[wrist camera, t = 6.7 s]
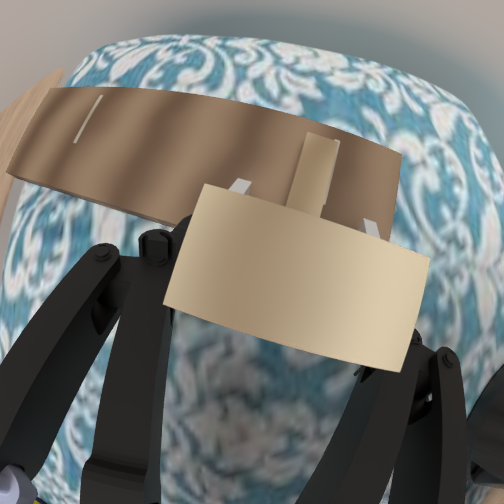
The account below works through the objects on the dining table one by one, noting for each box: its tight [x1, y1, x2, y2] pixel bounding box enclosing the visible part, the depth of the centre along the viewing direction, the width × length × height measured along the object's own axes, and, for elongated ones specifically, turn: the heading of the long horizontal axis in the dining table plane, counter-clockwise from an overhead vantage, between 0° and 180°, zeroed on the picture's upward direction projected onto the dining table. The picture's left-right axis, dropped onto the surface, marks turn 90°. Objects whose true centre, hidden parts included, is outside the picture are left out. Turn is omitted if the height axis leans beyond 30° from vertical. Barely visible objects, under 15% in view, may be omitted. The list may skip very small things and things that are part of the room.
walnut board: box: [6, 87, 402, 242], centre depth 19 cm, size 34×10×2 cm, turn 72°
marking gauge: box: [163, 132, 430, 372], centre depth 13 cm, size 6×11×12 cm, turn 162°
